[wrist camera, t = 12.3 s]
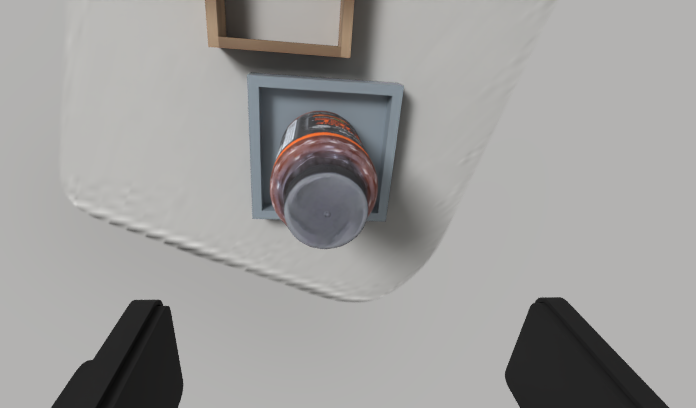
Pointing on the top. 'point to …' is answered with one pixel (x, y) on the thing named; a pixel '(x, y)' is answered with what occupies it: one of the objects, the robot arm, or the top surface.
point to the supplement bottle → (323, 180)
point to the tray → (320, 95)
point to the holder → (220, 40)
